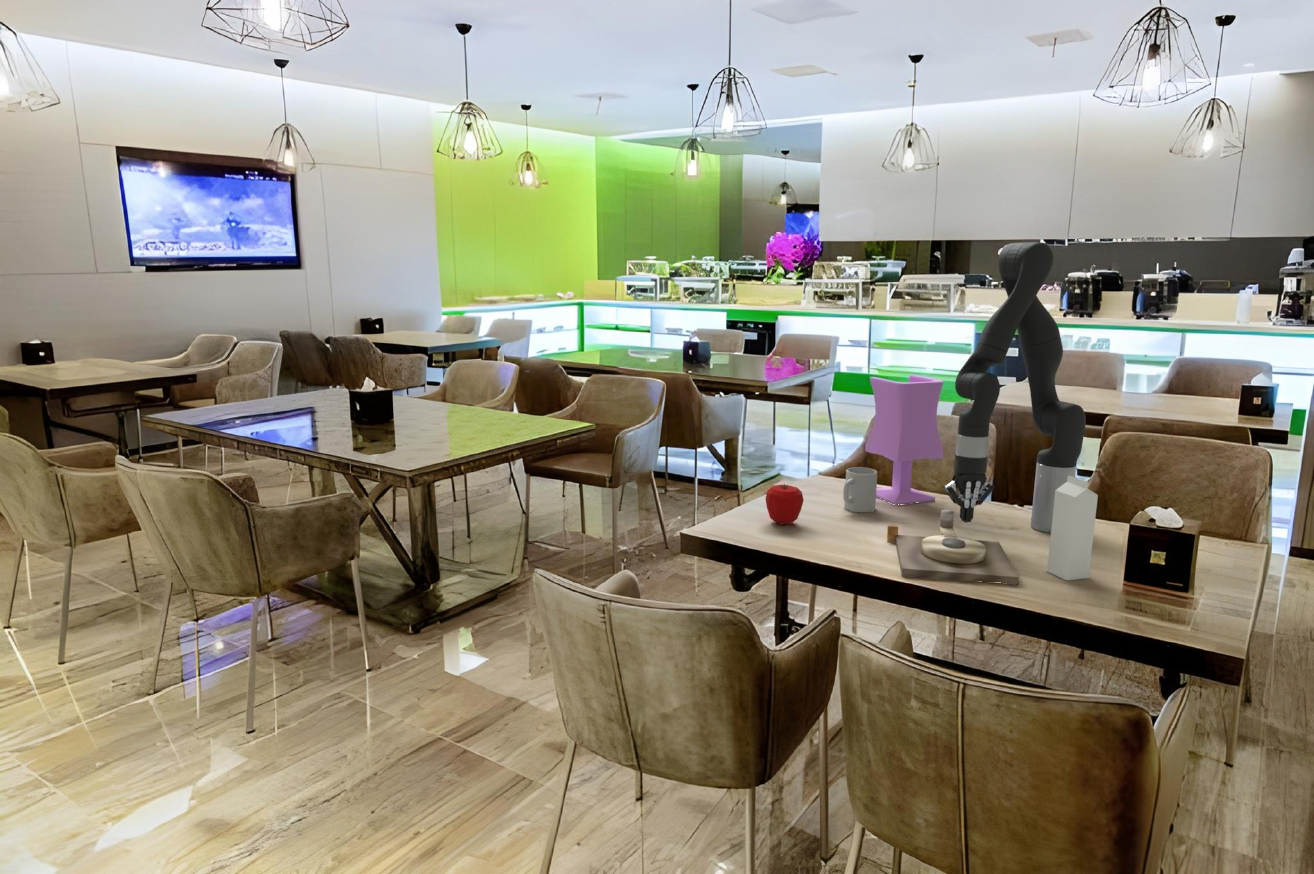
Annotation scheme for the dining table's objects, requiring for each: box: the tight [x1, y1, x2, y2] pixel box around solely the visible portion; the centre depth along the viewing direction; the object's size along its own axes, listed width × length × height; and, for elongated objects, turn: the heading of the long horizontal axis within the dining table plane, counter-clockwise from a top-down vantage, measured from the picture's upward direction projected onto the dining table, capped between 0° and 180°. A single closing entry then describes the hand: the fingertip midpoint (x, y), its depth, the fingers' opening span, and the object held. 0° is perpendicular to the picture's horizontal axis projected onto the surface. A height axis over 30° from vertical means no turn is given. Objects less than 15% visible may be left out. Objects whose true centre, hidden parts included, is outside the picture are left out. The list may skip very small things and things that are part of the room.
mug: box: [842, 466, 878, 513], centre depth 235 cm, size 12×8×11 cm
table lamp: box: [864, 374, 945, 506], centre depth 245 cm, size 16×16×35 cm
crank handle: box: [921, 509, 986, 564], centre depth 198 cm, size 22×14×6 cm, turn 168°
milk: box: [1046, 476, 1099, 581], centre depth 185 cm, size 6×6×22 cm
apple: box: [765, 483, 805, 525], centre depth 222 cm, size 10×10×11 cm
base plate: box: [886, 522, 1019, 585], centre depth 196 cm, size 26×26×4 cm
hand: (965, 521), depth 209 cm, fingers closed
